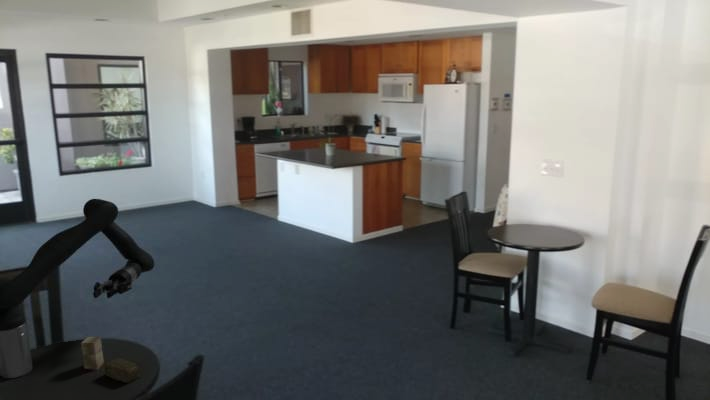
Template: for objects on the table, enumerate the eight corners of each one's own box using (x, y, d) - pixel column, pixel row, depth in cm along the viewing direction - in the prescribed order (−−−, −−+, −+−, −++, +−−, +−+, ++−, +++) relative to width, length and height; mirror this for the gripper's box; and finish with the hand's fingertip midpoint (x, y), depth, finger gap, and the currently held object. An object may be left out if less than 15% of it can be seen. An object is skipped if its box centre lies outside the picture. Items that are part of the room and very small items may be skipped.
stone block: (128, 385, 181) (126, 371, 180) (104, 377, 186) (102, 363, 185) (142, 376, 186) (140, 363, 185) (118, 369, 191) (116, 356, 190)
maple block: (84, 369, 191) (81, 342, 189) (91, 362, 195) (87, 336, 193) (97, 369, 191) (94, 342, 189) (103, 363, 195) (100, 336, 193)
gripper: (103, 269, 214) (80, 285, 198) (140, 269, 214) (119, 285, 197) (106, 287, 216) (83, 305, 199) (141, 287, 215) (122, 305, 199)
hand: (101, 295), depth 198 cm, fingers open, 4 cm apart
